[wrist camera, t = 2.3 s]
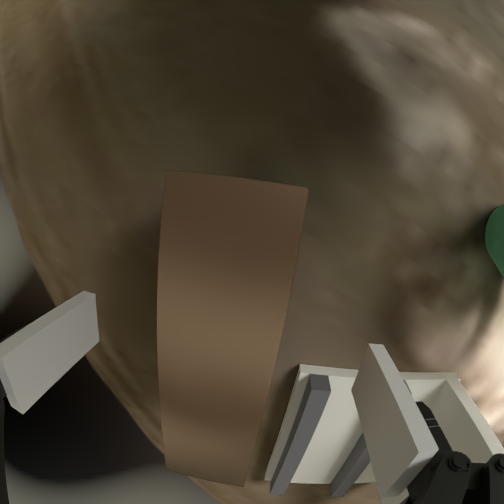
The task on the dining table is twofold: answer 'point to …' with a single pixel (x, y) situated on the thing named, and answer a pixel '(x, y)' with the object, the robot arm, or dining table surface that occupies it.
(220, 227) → the door slab
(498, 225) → the mug
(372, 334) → the dining table surface
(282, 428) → the track sill
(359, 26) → the dining table surface
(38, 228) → the dining table surface
